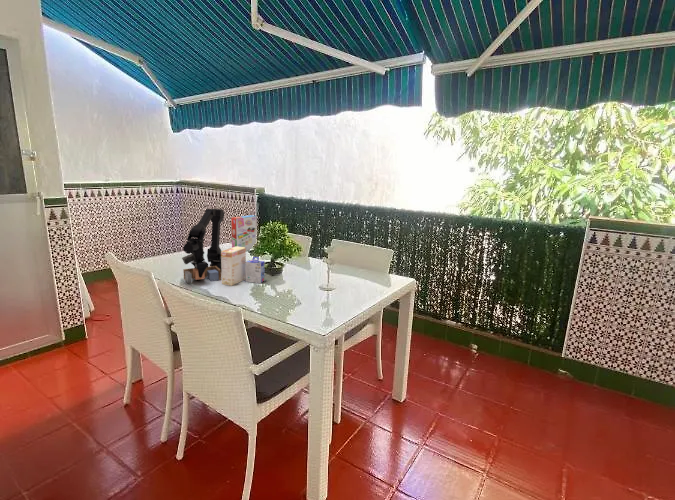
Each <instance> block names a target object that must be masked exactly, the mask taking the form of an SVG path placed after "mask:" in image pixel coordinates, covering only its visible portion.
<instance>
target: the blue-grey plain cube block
mask: <svg viewBox="0 0 675 500" xmlns="http://www.w3.org/2000/svg"><path fill="white" fill-rule="evenodd" d="M206 279H207V280H208V281H209V282H214V281H220V280H219V273H218V271H217V270H207V277H206Z"/></svg>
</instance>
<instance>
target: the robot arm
mask: <svg viewBox="0 0 675 500" xmlns="http://www.w3.org/2000/svg"><path fill="white" fill-rule="evenodd" d="M225 213H226V212H225V211H224V210H223V209H222V208H206V209H205V211H204V213H203V215H202V216H201V218H200V220H199V221H198V223H197V224H195V225H194V226H192V228H190V230H189V232H188V236H187V239H186V242H185V244H184V245H183V252H185V254H187V255H185V256H183V257H182V258H181V260H182V261H183V263H184V265H188V264H189V263H190V264H191V265H192V266H193V268H196V269H198V274H199V278H201V277H202V275H203V273H204V271H205V269H206V268H207V267H209V266H217V267H218V268H219V269H220V270H221V273H222V269H221V251H222V249H221V247H220V240H221V239H220V238H221V236H220V235H221V225H222V222H223V221H224V220H225V219H224V218H225V217H224V216H225ZM210 222H211V223H212V224H211V237H210V238H211V239H210V240H211V241H210V247H209V248H207V254H206V258H207V261H205V258H204V255H205V251H204V241H206V240H205V239H204V238H205V236H206V233H207V231H206V229H207V227H208V225H209V223H210ZM209 263H210V264H209Z"/></svg>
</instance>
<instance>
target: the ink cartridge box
mask: <svg viewBox="0 0 675 500" xmlns="http://www.w3.org/2000/svg"><path fill="white" fill-rule="evenodd" d="M263 281H264V282H265V261H262V260H260V257H259V256H253V257H252V259H251V260H246V279H245V282H247V283H256V284H262V283H264V282H263Z"/></svg>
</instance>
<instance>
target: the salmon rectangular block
mask: <svg viewBox="0 0 675 500" xmlns="http://www.w3.org/2000/svg"><path fill="white" fill-rule="evenodd" d="M193 277H194V279H195V281H197V280H198V281H199V280H204V279H205V280H206V277H205V271H204V273H203V275H202V277H201V278H199V274H198V269H196V268H195V269H193Z"/></svg>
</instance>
